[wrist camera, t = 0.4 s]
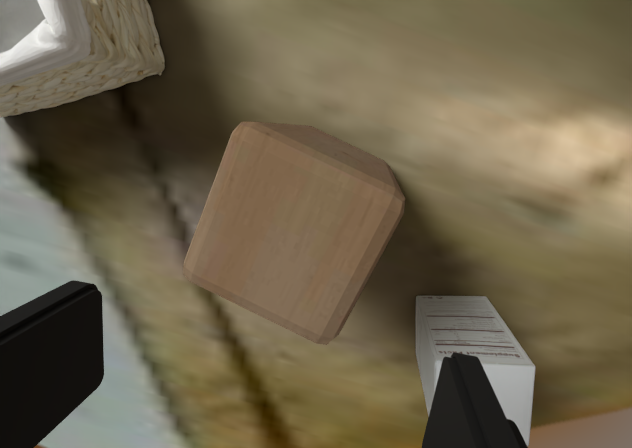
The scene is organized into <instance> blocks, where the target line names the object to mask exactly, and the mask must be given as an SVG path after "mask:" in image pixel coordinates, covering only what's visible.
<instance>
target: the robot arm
mask: <svg viewBox="0 0 632 448" xmlns="http://www.w3.org/2000/svg"><path fill="white" fill-rule="evenodd" d="M103 376H104V360H103V319H102V294H101V292H100V291H98V289H97V287H96V286H95V285H94V284H90V283H85V282H79V281H70V282H68V283H66V284H64V285H62V286H60V287H58V288H56V289H54V290H52V291H50V292H48V293H46V294H44V295H42V296H40V297H38V298H36V299H34V300H32V301H30V302H28V303H26V304H24V305H22V306H20V307H18V308H16V309H14V310H12V311H10V312H8V313H6V314H4V315H2V316H0V448H34V447H35V446H36V445H37V444H38V443H39V442H40V441H41V440H42V439H43V438H45V437H46V436H47V435H48V434H49V433H50V432H51V431H52V430H53V429H54V428H55V427H56V426H57V425H58V424H59V423H60V422H62V421H63V420H64V419H65V418H66V417H67V416H68V415H69V414H70V413H71V412H72V411H73V410H74V409H75V408H76V407H78V406H79V405H80V404H81V403H82V402H83V401H84V400H85V399H86V398H87V397H88V396H89V395H90V394H91V393H92V392H93V391H95V390H96V389H97V388H98V386H99V385H100V383H101V382H102V379H103ZM422 448H528V447H527V445H526V443H525V441H524V439H523V437H522V435H521V433H520V431H519V429H518V427H517V425H516V424H515V422H513V421H512V420H510V419H507V418H506V416H505V414H504V412H503V410H502V407H501V405H500V403H499V401H498V399H497V397H496V394H495V392H494V390H493V388H492V386H491V384H490V381H489V379H488V377H487V375H486V373H485V371H484V369H483V366H482V364H481V362H480V360H479V358H478V357H476V356H471V355H466V354H461V353H455V352H454V353H452V355H451V358H450V357H444V358H443V361H442V365H441V369H440V373H439V377H438V381H437V385H436V389H435V394H434V398H433V402H432V406H431V410H430V414H429V418H428V422H427V426H426V430H425V435H424V439H423V443H422Z"/></svg>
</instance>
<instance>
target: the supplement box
mask: <svg viewBox="0 0 632 448" xmlns="http://www.w3.org/2000/svg"><path fill="white" fill-rule="evenodd" d="M454 352H455V353H461V354H466V355H471V356H476V357H478V358H479V360H480V362H481V364H482V366H483V369H484V371H485V373H486V375H487V377H488V379H489V381H490V384H491V386H492V388H493V390H494V392H495V394H496V397H497V399H498V401H499V403H500V405H501V407H502V410H503V412H504V414H505V416H506V418H507V419H510V420H512V421H513V422H515V424H516V425H517V427H518V429H519V431H520V433H521V435H522V437H523V439H524V441H525V443H526V445H527V446H528V445H529V438H530V428H531V416H532V404H533V392H534V379H535V365H534V364H533V363H532V361H531V360H530V358H529V357H528V355H527V354H526V352H525V351H524V350H523V348H522V347H521V345H520V344H519V342H518V341H517V339H516V338H515V337H514V335H513V334H512V332H511V331H510V329H509V328H508V327H507V325H506V324H505V322H504V321H503V319H502V318H501V317H500V315H499V314H498V312H497V311H496V309H495V308H494V307H493V305H492V304H491V302H490V301H489V300H488V298H487V297H486V296H416V357H417V362H418V367H419V371H420V376H421V381H422V386H423V391H424V396H425V401H426V406H427V411H428V416H429V414H430V410H431V406H432V402H433V398H434V394H435V389H436V385H437V381H438V377H439V373H440V369H441V365H442V361H443V358H444V357H450V358H451V355H452V353H454Z"/></svg>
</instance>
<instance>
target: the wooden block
mask: <svg viewBox="0 0 632 448" xmlns="http://www.w3.org/2000/svg"><path fill="white" fill-rule="evenodd" d="M404 208H405V197H404V195H403V193H402V191H401V189H400V187H399V185H398V183H397V181H396V179H395V177H394V174H393V172H392V170H391V168H390V166H389V165H388V164H387V163H386V162H385V161H384V160H381V159H379V158H377V157H375V156H373V155H371V154H369V153H367V152H364V151H362V150H360V149H358V148H356V147H354V146H352V145H350V144H348V143H345V142H343V141H341V140H339V139H337V138H335V137H333V136H331V135H328V134H326V133H324V132H322V131H320V130H318V129H316V128H314V127H312V126H303V125H290V124H276V123H262V122H241V123H240V124H239V125H238V126H237V127H236V128H235V129H234V130H233V132H232V134H231V136H230V139H229V142H228V144H227V147H226V150H225V153H224V155H223V158H222V161H221V163H220V166H219V169H218V171H217V174H216V177H215V180H214V182H213V185H212V188H211V190H210V193H209V196H208V198H207V201H206V204H205V206H204V209H203V212H202V215H201V217H200V220H199V223H198V225H197V228H196V231H195V233H194V236H193V239H192V241H191V244H190V247H189V250H188V252H187V255H186V258H185V261H184V266H183V275H184V276H185V277H186V278H187V279H188V280H189V281H190V282H192V283H194V284H196V285H198V286H200V287H203V288H205V289H207V290H209V291H211V292H213V293H215V294H217V295H219V296H221V297H223V298H225V299H227V300H229V301H231V302H233V303H235V304H237V305H239V306H241V307H243V308H245V309H247V310H249V311H252V312H254V313H256V314H258V315H260V316H262V317H264V318H266V319H268V320H270V321H272V322H274V323H276V324H278V325H280V326H282V327H284V328H286V329H288V330H290V331H292V332H294V333H296V334H298V335H301V336H303V337H305V338H307V339H309V340H311V341H313V342H315V343H318V344H325V345H327V344H328V343H329V342H330V341H331V340H332V339H334V338H335V337H336V336H338V335H339V333H340V331H341V329H342V328H343V326H344V324H345V322H346V320H347V318H348V316H349V315H350V313H351V311H352V309H353V307H354V305H355V303H356V302H357V300H358V298H359V296H360V294H361V292H362V290H363V289H364V287H365V285H366V283H367V281H368V279H369V277H370V276H371V274H372V272H373V270H374V268H375V266H376V264H377V263H378V261H379V259H380V257H381V255H382V253H383V252H384V250H385V248H386V246H387V244H388V242H389V240H390V239H391V237H392V235H393V233H394V231H395V229H396V227H397V226H398V224H399V222H400V220H401V218H402V216H403V214H404Z"/></svg>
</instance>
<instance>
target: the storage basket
mask: <svg viewBox="0 0 632 448" xmlns="http://www.w3.org/2000/svg"><path fill="white" fill-rule="evenodd" d="M164 62H165V60H164V55H163V52H162V49H161V46H160V40H159V35H158V32H157V30H156V27H155V24H154V17H153V14H152V10H151V7H150V5H149V3H148V1H147V0H0V117H7V116H10V115H19V114H22V113H24V112H32V111H36V110H39V109H41V108H51V107H56V106H59V105H61V104H63V103H69V102H73V101H77V100H79V99H82V98H84V97H86V96H91V95H95V94H98V93H100V92H102V91H104V90H111V89H115V88H118V87H120V86H123V85H125V84H127V83H130V82H136V81H139V80H142V79H143V78H145V77H147V76H151V75H155V74H158V75H161V74H162V71H163V70H164V68H165V65H164Z"/></svg>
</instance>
